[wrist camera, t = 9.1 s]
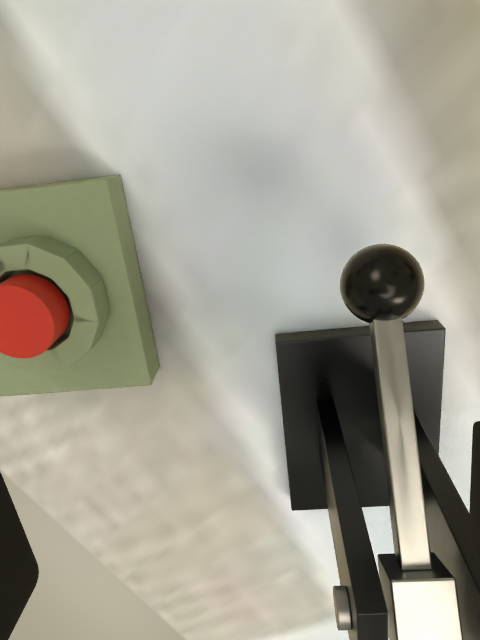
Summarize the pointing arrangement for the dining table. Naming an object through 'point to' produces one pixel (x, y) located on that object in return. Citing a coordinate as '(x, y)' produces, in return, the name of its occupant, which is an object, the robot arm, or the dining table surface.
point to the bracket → (368, 462)
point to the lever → (401, 447)
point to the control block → (79, 286)
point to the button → (30, 315)
